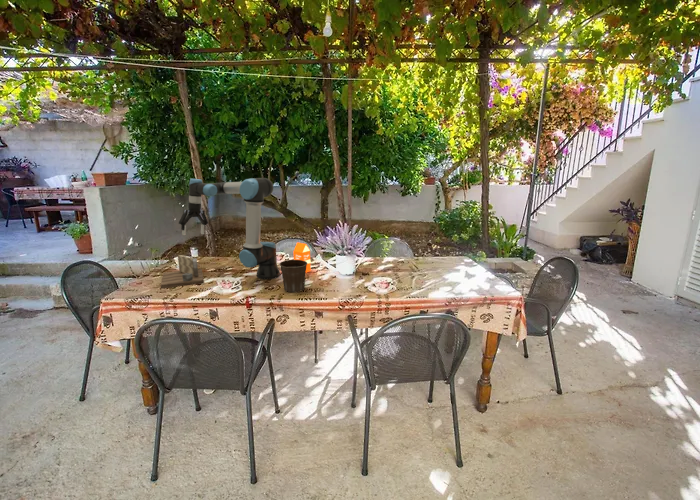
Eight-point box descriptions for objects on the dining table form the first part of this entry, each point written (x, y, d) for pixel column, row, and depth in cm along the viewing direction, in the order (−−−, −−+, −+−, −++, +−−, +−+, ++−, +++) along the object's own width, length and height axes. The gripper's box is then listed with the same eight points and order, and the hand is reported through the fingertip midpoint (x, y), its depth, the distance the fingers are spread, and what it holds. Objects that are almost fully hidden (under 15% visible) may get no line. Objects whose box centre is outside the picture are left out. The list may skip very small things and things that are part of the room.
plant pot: (310, 292, 214) (309, 265, 210) (282, 295, 209) (281, 268, 206) (305, 283, 229) (304, 258, 225) (279, 286, 224) (278, 260, 221)
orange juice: (303, 273, 250) (302, 244, 245) (293, 271, 255) (292, 243, 250) (311, 270, 256) (310, 242, 251) (301, 268, 261) (300, 241, 256)
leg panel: (196, 275, 239) (194, 258, 236) (193, 275, 237) (191, 259, 234) (182, 270, 248) (180, 254, 246) (179, 271, 247) (177, 255, 244)
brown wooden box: (203, 283, 230) (201, 261, 227) (161, 288, 221) (158, 266, 218) (202, 271, 255) (200, 251, 252) (163, 275, 246) (161, 255, 243)
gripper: (207, 202, 253) (206, 232, 256) (173, 201, 232) (172, 234, 235) (214, 203, 249) (212, 234, 252) (180, 202, 228) (179, 236, 231)
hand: (193, 234), depth 244 cm, fingers open, 13 cm apart
